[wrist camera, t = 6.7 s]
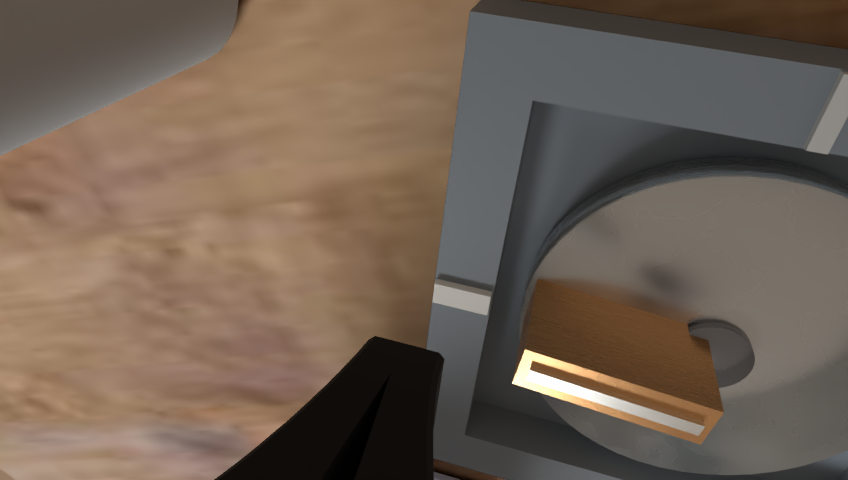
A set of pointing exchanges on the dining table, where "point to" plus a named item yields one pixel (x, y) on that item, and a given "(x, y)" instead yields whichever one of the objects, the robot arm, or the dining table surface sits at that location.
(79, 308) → the dining table surface
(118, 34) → the beverage can
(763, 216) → the dial
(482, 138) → the slate tray
